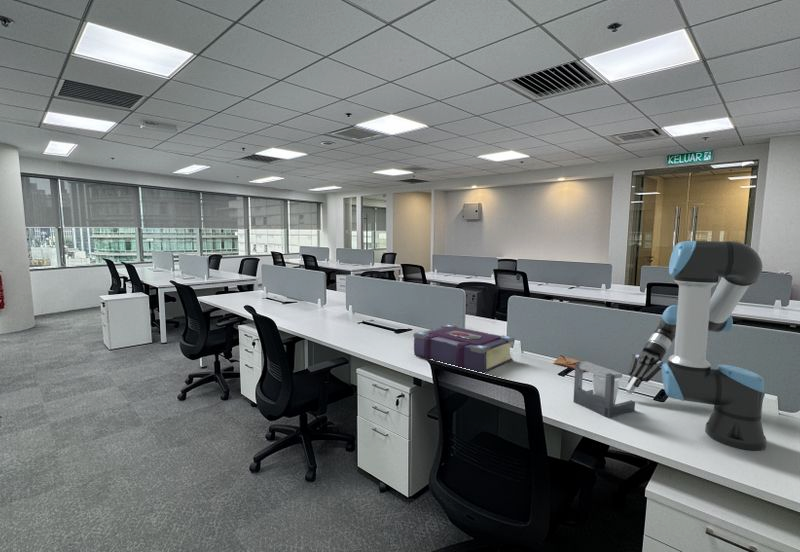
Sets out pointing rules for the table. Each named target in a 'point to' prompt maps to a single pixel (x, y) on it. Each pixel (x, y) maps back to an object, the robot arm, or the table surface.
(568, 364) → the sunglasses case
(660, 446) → the table surface
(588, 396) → the grey plastic frame
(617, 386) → the cup
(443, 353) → the book
